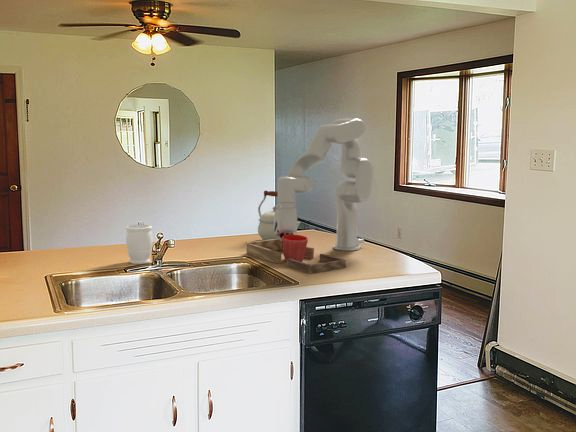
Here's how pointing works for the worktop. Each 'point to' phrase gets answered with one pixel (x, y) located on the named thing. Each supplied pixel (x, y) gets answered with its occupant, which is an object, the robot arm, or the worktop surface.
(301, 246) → the flower pot
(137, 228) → the jar
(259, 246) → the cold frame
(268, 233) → the kettle
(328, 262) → the bay
